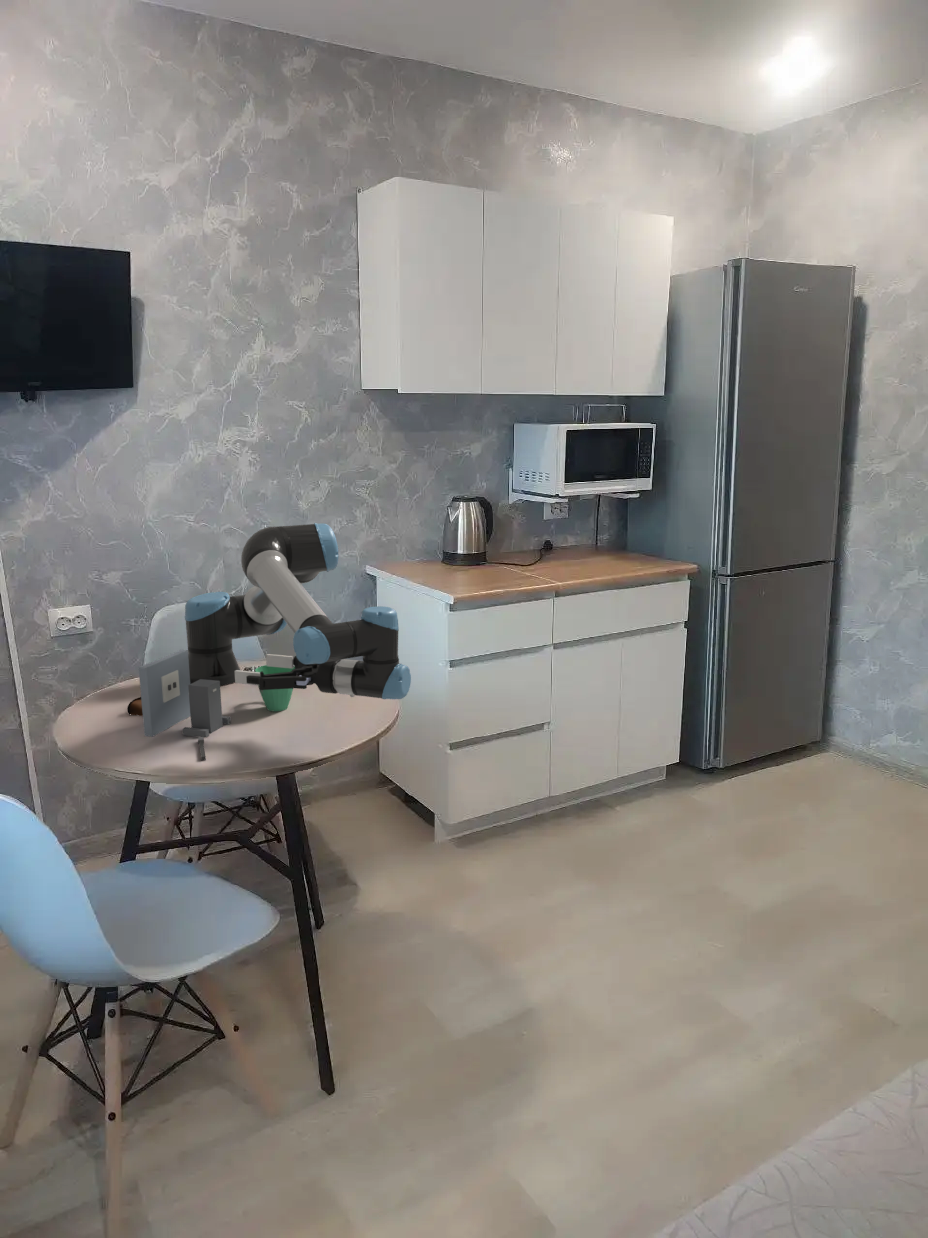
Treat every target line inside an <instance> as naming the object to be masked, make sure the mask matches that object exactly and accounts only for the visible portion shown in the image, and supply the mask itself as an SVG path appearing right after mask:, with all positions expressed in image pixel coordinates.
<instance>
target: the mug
mask: <svg viewBox="0 0 928 1238" xmlns="http://www.w3.org/2000/svg"><path fill="white" fill-rule="evenodd" d="M293 669H295V666H294V668H292V669H291V668H281V667H270V666H267V664H265V665H261V666H258V667H257V668H255V669H254V672H261V671H263V673H264V674H273V673H282V672H291V671H292V670H293ZM257 687H258V691H259V693H260V697H261V698H262V701H263V703H264V705H265V707H266V709H267V710H268V711H270V712H282V711H285V710H287V709H288V708H289V704H290V701H291V698H292V695H293V691H294V688H293V689H271V690H260V689H259V685H257Z"/></svg>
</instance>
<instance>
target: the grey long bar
mask: <svg viewBox="0 0 928 1238" xmlns="http://www.w3.org/2000/svg"><path fill="white" fill-rule="evenodd" d="M204 738H205V737H197V743H198V745H199V753H200V761H206V760H207V758H206V757H207V756H206V750H205V739H204Z"/></svg>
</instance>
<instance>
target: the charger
mask: <svg viewBox="0 0 928 1238" xmlns="http://www.w3.org/2000/svg"><path fill="white" fill-rule="evenodd" d="M188 689H189V693H188V694H189V703H190V726H191V727H190V728H199V729H209V735H210V734H213V733H214V732H216V731H218V730H219V729H222V728H223V727H224V724H223V722H222V716H223V710H222V709H223V708H222V696H221V695H222V694H221V686H220V681H216V680H204V679H200V680H198V681H196V682H194V683H192V684H190V685H188Z"/></svg>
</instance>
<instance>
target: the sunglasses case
mask: <svg viewBox="0 0 928 1238" xmlns="http://www.w3.org/2000/svg"><path fill="white" fill-rule="evenodd" d="M126 710H127V713H128V715H129V716H137V715H139V717H140V716H141V717H143V712H142V701H141V696H139V697H136V698H134V699H132V700H131V701H130V702H129V703H128V705H127V709H126ZM130 714H131V715H130Z"/></svg>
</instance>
